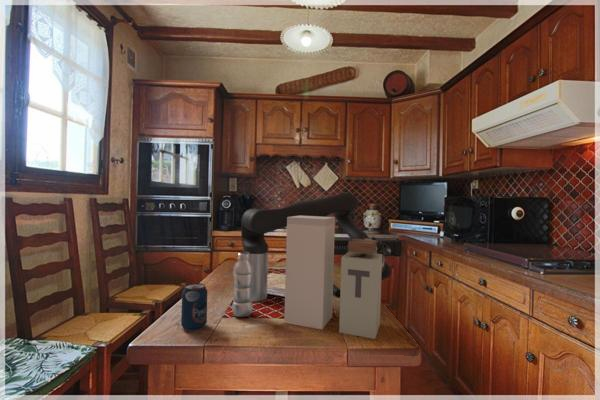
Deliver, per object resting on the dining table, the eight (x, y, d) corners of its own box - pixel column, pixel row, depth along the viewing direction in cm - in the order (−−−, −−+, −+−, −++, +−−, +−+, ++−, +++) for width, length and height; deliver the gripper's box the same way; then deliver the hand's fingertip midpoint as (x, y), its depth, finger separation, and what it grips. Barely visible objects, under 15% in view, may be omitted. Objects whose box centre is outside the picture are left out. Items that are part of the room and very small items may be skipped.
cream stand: (297, 311, 108) (300, 215, 108) (332, 316, 104) (335, 217, 104) (284, 322, 98) (287, 217, 98) (322, 329, 94) (325, 219, 93)
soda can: (197, 334, 88) (198, 290, 88) (175, 330, 90) (176, 287, 90) (211, 324, 95) (212, 283, 95) (191, 321, 97) (192, 281, 97)
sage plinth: (347, 319, 102) (349, 251, 102) (379, 324, 99) (382, 253, 98) (339, 332, 92) (341, 256, 92) (375, 339, 88) (377, 260, 88)
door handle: (304, 293, 122) (344, 289, 125) (294, 279, 142) (329, 276, 145) (304, 301, 122) (345, 297, 125) (294, 287, 142) (330, 283, 145)
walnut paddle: (359, 243, 109) (359, 234, 109) (380, 245, 107) (380, 236, 107) (348, 252, 93) (348, 241, 92) (372, 254, 90) (373, 243, 90)
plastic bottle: (235, 321, 98) (236, 255, 98) (229, 313, 104) (230, 251, 104) (255, 317, 101) (257, 254, 101) (248, 310, 107) (250, 250, 107)
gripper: (355, 246, 121) (347, 227, 107) (394, 249, 116) (391, 229, 102) (352, 266, 118) (344, 248, 104) (392, 270, 113) (389, 252, 99)
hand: (367, 239), depth 103 cm, fingers closed on walnut paddle, 3 cm apart
